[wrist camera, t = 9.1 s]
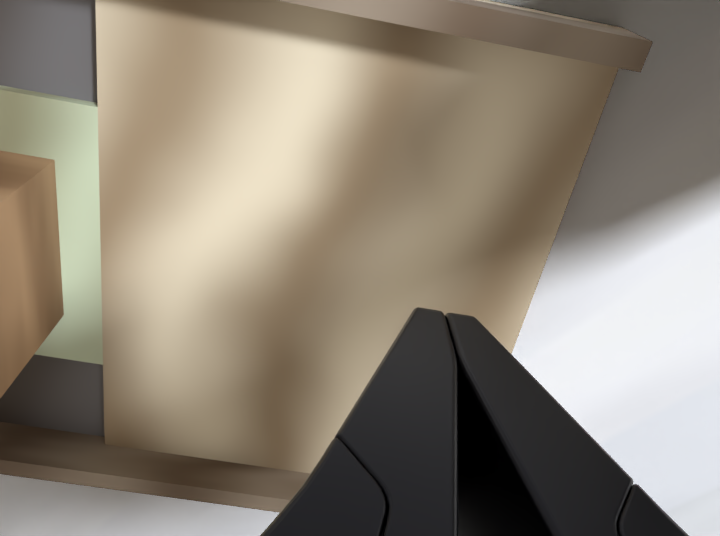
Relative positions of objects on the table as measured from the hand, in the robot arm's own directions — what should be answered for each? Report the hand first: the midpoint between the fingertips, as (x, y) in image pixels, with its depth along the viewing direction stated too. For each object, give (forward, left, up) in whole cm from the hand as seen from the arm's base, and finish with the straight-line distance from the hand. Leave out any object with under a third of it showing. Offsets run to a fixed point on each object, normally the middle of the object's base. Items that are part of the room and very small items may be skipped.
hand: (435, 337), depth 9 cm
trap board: (+5, +7, -13) cm, 15 cm away
